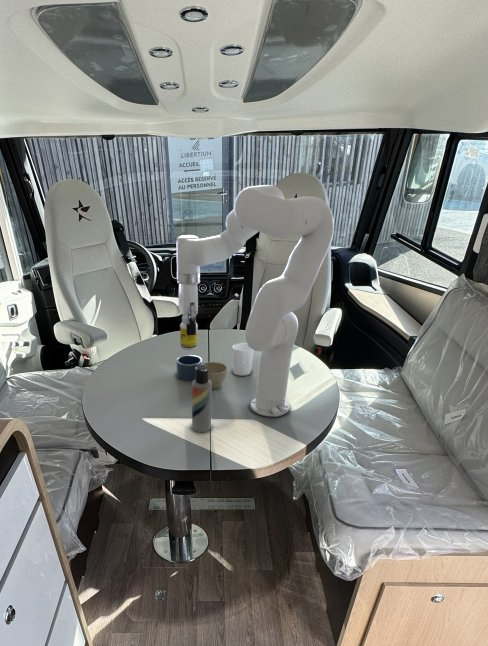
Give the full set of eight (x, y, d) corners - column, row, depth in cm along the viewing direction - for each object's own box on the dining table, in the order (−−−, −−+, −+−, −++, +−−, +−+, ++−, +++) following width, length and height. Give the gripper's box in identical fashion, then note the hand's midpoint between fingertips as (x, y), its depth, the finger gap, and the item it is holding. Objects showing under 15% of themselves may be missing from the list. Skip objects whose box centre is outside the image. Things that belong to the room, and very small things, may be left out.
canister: (204, 379, 163) (204, 363, 160) (179, 381, 161) (179, 366, 158) (198, 369, 170) (198, 354, 167) (174, 371, 169) (174, 356, 165)
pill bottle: (178, 345, 161) (177, 315, 154) (194, 343, 163) (194, 313, 156) (183, 351, 156) (183, 320, 150) (200, 349, 158) (200, 318, 152)
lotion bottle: (200, 421, 138) (200, 360, 127) (214, 427, 135) (216, 365, 124) (188, 428, 135) (187, 366, 123) (202, 434, 132) (203, 372, 120)
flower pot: (211, 395, 153) (211, 375, 148) (193, 385, 159) (193, 366, 155) (232, 387, 158) (233, 368, 154) (213, 377, 164) (214, 359, 160)
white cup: (252, 376, 165) (254, 351, 159) (231, 376, 165) (233, 350, 159) (251, 368, 171) (253, 343, 165) (230, 367, 171) (232, 342, 166)
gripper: (172, 272, 151) (173, 324, 162) (183, 285, 138) (183, 341, 149) (193, 271, 153) (193, 322, 164) (206, 283, 139) (205, 339, 150)
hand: (189, 331), depth 156 cm, fingers closed on pill bottle, 6 cm apart
